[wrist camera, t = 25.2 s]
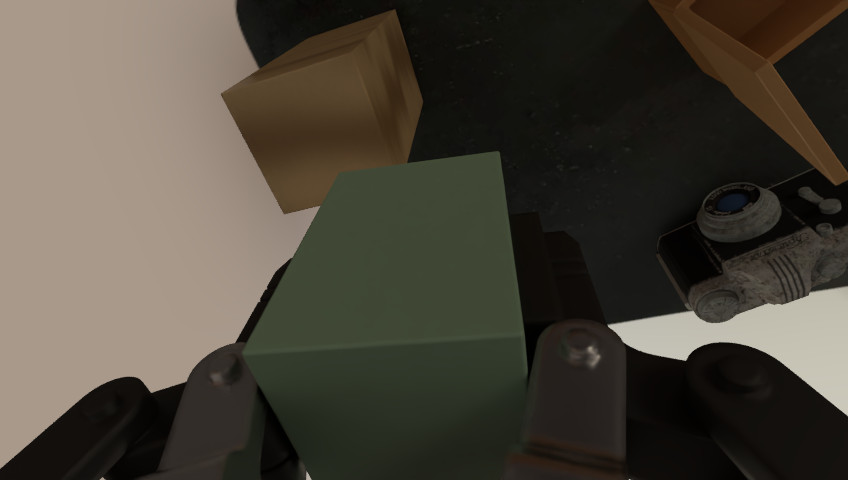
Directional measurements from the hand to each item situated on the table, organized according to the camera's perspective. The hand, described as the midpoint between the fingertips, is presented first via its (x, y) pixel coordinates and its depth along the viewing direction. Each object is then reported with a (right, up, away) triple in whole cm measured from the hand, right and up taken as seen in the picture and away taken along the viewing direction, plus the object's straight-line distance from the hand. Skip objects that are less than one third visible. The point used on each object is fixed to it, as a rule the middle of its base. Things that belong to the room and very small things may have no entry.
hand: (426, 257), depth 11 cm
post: (-4, +14, +25) cm, 29 cm away
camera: (+27, +3, +29) cm, 39 cm away
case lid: (+17, +9, +12) cm, 23 cm away
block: (0, +1, +1) cm, 1 cm away
